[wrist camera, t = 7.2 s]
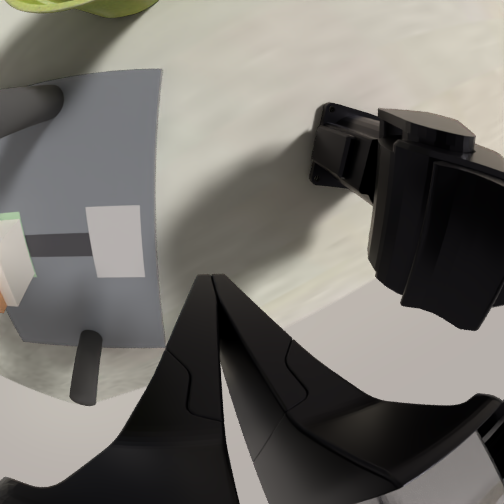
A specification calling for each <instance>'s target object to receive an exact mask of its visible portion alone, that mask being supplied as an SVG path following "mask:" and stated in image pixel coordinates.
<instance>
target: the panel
mask: <svg viewBox="0 0 504 504" xmlns="http://www.w3.org/2000/svg"><path fill="white" fill-rule="evenodd" d="M162 73H163V70H162V69H134V70H119V71H108V72H98V73H90V74H83V75H77V76H71V77H65V78H60V79H55V80H50V81H46V82H41V83H37V84H33V85H29V86H37V85H56V86H58V87H59V88H60V89H61V90H62V92H63V95H64V103H63V107H62V109H61V111H60V112H59V114H58V115H57V116H56V117H54V118H53V119H51V120H48V121H45V122H42V123H39V124H36V125H33V126H30V127H28V128H25V129H23V130H20V131H17V132H15V133H12V134H10V135H8V136H5V137H3V138H1V139H0V220H11V219H20V223H21V227H22V231H23V235H24V239H25V243H26V247H27V250H28V253H29V257H30V260H31V263H32V266H33V269H34V272H35V274H34V276H33V278H32V280H31V282H30V284H29V286H28V288H27V290H26V292H25V294H24V296H23V298H22V300H21V302H20V304H19V306H18V307H16V306H7V307H6V311H7V313H8V315H9V317H10V319H11V321H12V322H13V324H14V326H15V328H16V330H17V332H18V333H19V335H20V337H21V339H22V340H23V341H24V342H32V343H42V344H53V345H65V346H78V343H79V338H80V334H81V332H82V331H84V330H93V331H95V332H97V333H99V334H100V335H101V337H102V339H103V342H102V347H104V348H165V334H164V326H163V318H162V308H161V299H160V288H159V275H158V261H157V242H156V207H155V178H156V145H157V126H158V112H159V101H160V90H161V81H162Z"/></svg>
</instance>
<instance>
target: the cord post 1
mask: <svg viewBox="0 0 504 504" xmlns="http://www.w3.org/2000/svg"><path fill="white" fill-rule="evenodd" d="M63 103H64V95H63V92H62V90H61V89H60V88H59V87H58V86H56V85H37V86H24V87H15V88H7V89H0V139H1V138H3V137H5V136H8V135H10V134H12V133H15V132H17V131H20V130H23V129H25V128H28V127H30V126H33V125H36V124H39V123H42V122H45V121H48V120H51V119H53V118H54V117H56V116H57V115H58V114H59V112H60V111H61V109H62V107H63Z"/></svg>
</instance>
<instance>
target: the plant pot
mask: <svg viewBox="0 0 504 504" xmlns="http://www.w3.org/2000/svg"><path fill="white" fill-rule="evenodd" d="M5 1H6V2H7V3H8V4H9V5H10V6H12V7H13V8H15V9H17V10H20V11H24V12H31V13H54V12H60V11H65V10H70V9H78V10H82V11H85V12H89V13H92V14H95V15H98V16H102V17H106V18H116V17H123V16H127V15H132V14H136V13H138V12H141V11H143V10H145V9H147V8H148V7H150V6H152V5H153V4H154V3H156V2H157V1H158V0H5Z"/></svg>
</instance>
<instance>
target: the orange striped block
mask: <svg viewBox="0 0 504 504" xmlns="http://www.w3.org/2000/svg"><path fill="white" fill-rule="evenodd" d="M34 274H35V272H34V269H33V266H32V263H31V260H30V257H29V253H28V250H27V247H26V243H25V239H24V235H23V231H22V227H21V223H20V219H11V220H0V313H4V311H5V309H6V307H7V306H16V307H18V306H19V304H20V302H21V300H22V298H23V296H24V294H25V292H26V290H27V288H28V286H29V284H30V282H31V280H32V278H33V276H34Z"/></svg>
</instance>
